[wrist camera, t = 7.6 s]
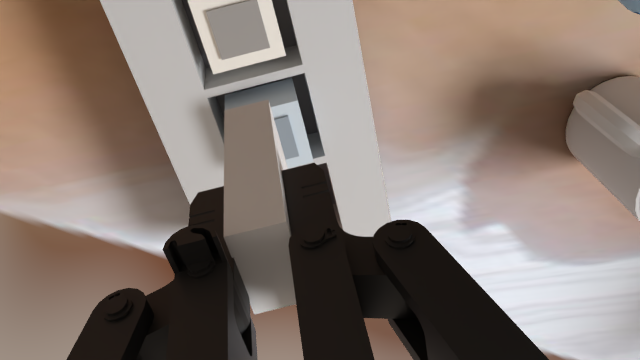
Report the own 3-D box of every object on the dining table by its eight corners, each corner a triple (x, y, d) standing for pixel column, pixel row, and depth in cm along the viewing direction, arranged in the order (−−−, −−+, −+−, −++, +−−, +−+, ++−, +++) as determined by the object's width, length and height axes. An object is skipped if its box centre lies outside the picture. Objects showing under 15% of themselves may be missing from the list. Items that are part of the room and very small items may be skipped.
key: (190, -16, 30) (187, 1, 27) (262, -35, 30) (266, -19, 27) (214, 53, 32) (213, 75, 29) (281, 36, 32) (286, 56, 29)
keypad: (109, -44, 30) (90, -21, 26) (322, -99, 30) (337, -84, 26) (221, 229, 42) (221, 276, 38) (376, 189, 42) (393, 231, 37)
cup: (601, 174, 44) (677, 247, 37) (517, 116, 40) (583, 186, 32) (675, 103, 41) (773, 167, 34) (593, 33, 37) (685, 88, 30)
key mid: (224, 95, 32) (224, 120, 29) (292, 77, 32) (297, 101, 29) (244, 152, 34) (246, 180, 32) (307, 136, 34) (314, 163, 32)
